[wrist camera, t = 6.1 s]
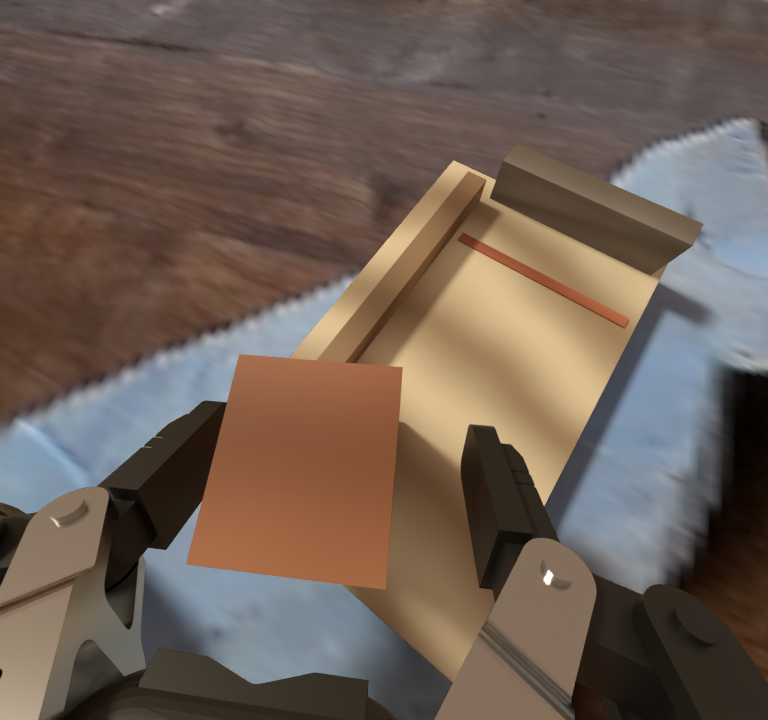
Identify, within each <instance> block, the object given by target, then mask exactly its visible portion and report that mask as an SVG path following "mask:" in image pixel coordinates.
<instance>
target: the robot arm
mask: <svg viewBox="0 0 768 720" xmlns="http://www.w3.org/2000/svg"><path fill="white" fill-rule="evenodd" d="M226 405H227V402H216V401H203V402H201V403H200V404H199V405H198V406H197V407H196V408H195V409H194V410H192V411H191V412H190V413H189V414H186V415H184V416H182V417H180V418H178V419H176V420H175V421H173V422H171V423H169V424H168V425H167V426H166V427H164V428H163V429H162V430H161V431H160V432H159V433H158V434H156V437H155V438H152V439H151V440H150V441H148V442H147V443H146V444H145V446H144V448H140V449H139V450H138V451H137V452H136V453H135V454H134V455H132V456H131V457H130V458H129V459H128V460H127V461H126V462H124V463H123V464H122V465H121V466H120V467H119V468H118V469H116V470H115V471H114V472H113V473H112V474H111V475H109V476H108V477H107V478H106V479H105V480H104V481H103V482H101V483H100V484H99V485H98V486H97V487H86V488H82V489H78V490H75V491H72V492H69V493H67V494H65V495H63V496H61V497H59V498H57V499H55V500H54V501H52V502H50V503H49V504H47V505H46V506H45V507H43V508H42V509H41V510H40V511H39V512H36V513H30V514H24V515H18V516H12V517H6V518H1V516H0V720H397V719H396V718H395V717H394V716H393V715H392V714H391V713H390V712H389V711H388V710H387V709H385V708H384V707H383V706H382V705H381V704H379V703H378V702H376V701H374V700H373V699H371V698H369V697H368V680H361V679H355V678H348V677H342V676H335V675H328V674H322V673H310V674H305V675H301V676H296V677H291V678H286V679H281V680H277V681H272V682H267V683H262V684H252V683H250V682H248V681H246V680H245V679H243V678H242V677H240V676H238V675H237V674H235V673H234V672H232V671H231V670H229V669H227V668H226V667H224V666H223V665H221V664H219V663H218V662H216V661H215V660H213V659H212V658H210V657H208V656H202V655H196V654H189V653H182V652H176V651H169V650H162V649H158V651H157V652H156V654H155V656H154V657H153V659H152V661H151V663H150V664H149V666H148V668H146V664H145V657H144V652H143V649H142V644H141V619H142V605H143V591H144V578H145V559H144V557H143V553H144V552H145V551H146V549H147V548H155V549H163V550H166V549H167V548H168V546H169V545H170V544H171V542H172V541H173V540H174V538H175V537H176V536H177V534H178V533H179V531H180V530H181V529H182V527H183V526H184V525H185V523H186V522H187V520H188V519H189V518H190V516H191V515H192V514H193V512H194V511H195V510H196V508H197V507H198V505H199V504H200V503H201V501H202V500H203V496H204V492H205V488H206V484H207V480H208V476H209V472H210V468H211V464H212V460H213V457H214V453H215V449H216V445H217V441H218V437H219V433H220V429H221V425H222V421H223V417H224V413H225V409H226ZM460 470H461V482H462V488H463V494H464V500H465V506H466V512H467V518H468V524H469V530H470V536H471V542H472V548H473V554H474V560H475V566H476V572H477V578H478V584H479V588H482V589H490V590H492V591H493V596H494V601H495V605H494V607H493V609H492V611H491V613H490V615H489V617H488V619H487V621H486V623H485V624H484V626H482V628H481V630H480V631H479V633H478V635H477V637H476V639H475V641H474V643H473V645H472V647H471V649H470V651H469V653H468V655H467V657H466V658H465V660H464V662H463V664H462V666H461V668H460V670H459V672H458V674H457V676H456V678H455V680H454V682H453V684H452V686H451V688H450V690H449V692H448V694H447V696H446V698H445V700H444V702H443V704H442V706H441V708H440V710H439V712H438V713H437V715H436V717H435V719H434V720H574V709H573V708H572V707H571V699H572V693H573V689H574V685H575V682H577V683H579V684H581V685H583V686H585V687H586V688H588V689H590V690H592V691H594V692H595V693H597V694H599V695H601V697H602V700H603V703H604V706H605V709H606V712H607V715H608V718H609V720H768V682H767V681H766V680H765V678H764V677H763V675H762V674H761V672H760V671H759V670H758V668H757V667H756V665H755V664H754V662H753V661H752V660H751V658H750V657H749V655H748V654H747V652H746V651H745V650H744V648H743V647H742V645H741V644H740V642H739V641H738V640H737V638H736V637H735V635H734V634H733V633H732V631H731V630H730V629H729V627H728V626H727V625H726V624H725V623H724V622H723V621H722V620H721V619H720V618H719V617H718V616H717V615H716V614H715V613H714V612H713V611H712V610H711V609H710V608H708V607H707V606H706V605H705V604H703V603H702V602H701V601H699V600H698V599H696V598H695V597H693V596H692V595H690V594H688V593H686V592H684V591H682V590H680V589H678V588H675V587H672V586H668V585H662V584H658V585H653V586H650V587H649V588H648V589H647V590H646V591H645V592H644V594H643V595H641V594H639V593H637V592H634V591H632V590H630V589H627V588H625V587H623V586H620V585H618V584H615V583H613V582H611V581H608V580H606V579H604V578H601V577H599V576H597V575H595V574H593V573H592V572H590V570H589V568H588V567H587V565H586V564H585V563H584V562H583V560H582V559H581V558H580V557H579V556H578V555H577V554H576V553H575V552H573V551H572V550H571V549H569V548H568V547H567V546H565V545H563V544H561V543H560V541H559V539H558V537H557V535H556V533H555V530H554V528H553V526H552V523H551V521H550V519H549V516H548V514H547V512H546V509H545V507H544V505H543V503H542V500H541V498H540V496H539V493H538V491H537V489H536V487H535V486H534V485H535V484H534V482H533V479H532V477H531V475H529V470H528V468H527V465H526V463H525V461H524V458H523V457H522V456H521V454H520V453H519V452H518V451H517V450H516V449H515V448H514V447H513V446H512V445H511V444H503V443H500V440H499V437H498V434H497V432H496V429H495V427H494V426H486V425H475V424H470V425H469V426H468V430H467V434H466V439H465V444H464V448H463V453H462V458H461V469H460Z"/></svg>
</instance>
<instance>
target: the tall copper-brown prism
mask: <svg viewBox="0 0 768 720" xmlns="http://www.w3.org/2000/svg"><path fill="white" fill-rule="evenodd" d="M402 372H403V367H395V366H382V365H369V364H356V363H344V362H331V361H318V360H305V359H292V358H280V357H267V356H254V355H241V354H239V358H238V362H237V366H236V370H235V374H234V378H233V382H232V385H231V389H230V393H229V397H228V401H227V405H226V409H225V413H224V417H223V421H222V425H221V429H220V433H219V437H218V441H217V445H216V449H215V453H214V457H213V460H212V464H211V468H210V472H209V476H208V480H207V484H206V488H205V492H204V496H203V500H202V504H201V508H200V512H199V516H198V520H197V524H196V528H195V532H194V535H193V539H192V543H191V547H190V551H189V555H188V559H187V563H186V564H188V565H196V566H204V567H211V568H219V569H227V570H235V571H243V572H250V573H258V574H266V575H274V576H282V577H290V578H297V579H305V580H313V581H321V582H329V583H337V584H344V585H352V586H360V587H368V588H376V589H384V590H386V579H387V567H388V554H389V542H390V530H391V518H392V506H393V493H394V480H395V467H396V454H397V441H398V428H399V415H400V400H401V386H402Z"/></svg>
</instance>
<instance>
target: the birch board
mask: <svg viewBox="0 0 768 720" xmlns="http://www.w3.org/2000/svg"><path fill="white" fill-rule="evenodd" d="M702 226H703V224H702V223H700V222H698V221H695V220H693V219H691V218H688V217H686V216H684V215H681V214H679V213H677V212H674V211H672V210H670V209H667V208H665V207H663V206H660V205H658V204H656V203H653V202H651V201H649V200H647V199H644V198H642V197H640V196H637V195H635V194H633V193H630V192H628V191H626V190H623V189H621V188H619V187H616V186H614V185H612V184H609V183H607V182H605V181H602V180H600V179H598V178H595V177H593V176H591V175H588V174H586V173H584V172H581V171H579V170H577V169H574V168H572V167H570V166H567V165H565V164H563V163H560V162H558V161H556V160H553V159H551V158H549V157H546V156H544V155H542V154H540V153H537V152H535V151H533V150H530V149H528V148H526V147H523V146H521V145H519V144H515V146H514V147H513V148H512V150H511V151H510V152H509V154H508V155H507V156H506V157H505V159H504V160H503V162H502V165H501V168H500V170H499V173H498V176H497V179H496V180H494V179H492V178H490V177H488V176H486V175H484V174H481V173H479V172H477V171H475V170H473V169H471V168H469V167H466V166H464V165H462V164H460V163H458V162H456V161H453V162H452V163H451V164H450V165H449V167H448V168H447V169H446V170H445V171H444V173H443V174H442V175H441V176H440V177H439V179H438V180H437V181H436V182H435V183H434V185H433V186H432V187H431V188H430V189H429V191H428V192H427V193H426V194H425V195H424V197H423V198H422V199H421V200H420V201H419V203H418V204H417V205H416V206H415V207H414V209H413V210H412V211H411V212H410V213H409V215H408V216H407V217H406V218H405V219H404V221H403V222H402V223H401V224H400V225H399V227H398V228H397V229H396V230H395V232H394V233H393V234H392V235H391V236H390V238H389V239H388V240H387V241H386V242H385V244H384V245H383V246H382V247H381V248H380V250H379V251H378V252H377V253H376V254H375V256H374V257H373V258H372V259H371V260H370V262H369V263H368V264H367V265H366V266H365V268H364V269H363V270H362V271H361V272H360V274H359V275H358V276H357V277H356V278H355V280H354V281H353V282H352V283H351V284H350V286H349V287H348V288H347V289H346V290H345V292H344V293H343V294H342V295H341V296H340V298H339V299H338V300H337V301H336V302H335V304H334V305H333V306H332V307H331V308H330V310H329V311H328V312H327V313H326V314H325V316H324V317H323V318H322V319H321V320H320V322H319V323H318V324H317V325H316V326H315V328H314V329H313V330H312V331H311V332H310V334H309V335H308V336H307V337H306V339H305V340H304V341H303V342H302V343H301V345H300V346H299V347H298V348H297V349H296V351H295V352H294V353H293V354H292V355H291V357H290V358H292V359H305V360H318V361H331V362H344V363H356V364H369V365H382V366H395V367H403V372H402V386H401V400H400V415H399V428H398V441H397V454H396V467H395V480H394V493H393V506H392V518H391V530H390V542H389V554H388V567H387V579H386V590H384V589H376V588H368V587H360V586H352V585H344V584H342V585H343V586H344V587H345V588H347V589H348V590H349V591H350V592H351V593H352V594H353V595H354V596H356V597H357V598H358V599H359V600H360V601H361V602H362V603H363V604H365V605H366V606H367V607H368V608H369V609H370V610H371V611H372V612H374V613H375V614H376V615H377V616H378V617H379V618H380V619H382V620H383V621H384V622H385V623H386V624H387V625H388V626H389V627H391V628H392V629H393V630H394V631H395V632H396V633H397V634H398V635H400V636H401V637H402V638H403V639H404V640H405V641H406V642H407V643H409V644H410V645H411V646H412V647H413V648H414V649H415V650H416V651H418V652H419V653H420V654H421V655H422V656H423V657H424V658H426V659H427V660H428V661H429V662H430V663H431V664H432V665H433V666H435V667H436V668H437V669H438V670H439V671H440V672H441V673H442V674H444V675H445V676H446V677H447V678H448V679H449V680H450V681H451V682H454V680H455V678H456V676H457V674H458V672H459V670H460V668H461V666H462V664H463V662H464V660H465V658H466V657H467V655H468V653H469V651H470V649H471V647H472V645H473V643H474V641H475V639H476V637H477V635H478V633H479V631H480V630H481V628H482V626H484V624H485V622H486V620H487V618H488V616H489V614H490V612H491V610H492V608H493V606H494V604H495V601H494V596H493V591H492V590H490V589H482V588H479V584H478V578H477V572H476V566H475V560H474V554H473V548H472V542H471V536H470V530H469V524H468V518H467V512H466V506H465V500H464V494H463V488H462V482H461V470H460V469H461V458H462V453H463V448H464V444H465V439H466V434H467V430H468V426H469V425H470V424H475V425H486V426H494V427H495V429H496V432H497V434H498V437H499V440H500V443H503V444H511V445H512V446H513V447H514V448H515V449H516V450H517V451H518V452H519V453H520V454H521V456H522V457H523V458H524V461H525V463H526V465H527V468H528V470H529V475H531V477H532V479H533V482H534V484H535V485H534V486H535V487H536V489H537V491H538V493H539V496H540V498H541V500H542V503H543V505H544V506H545V504H546V502H547V500H548V498H549V496H550V494H551V492H552V490H553V488H554V486H555V484H556V482H557V480H558V478H559V476H560V474H561V472H562V470H563V469H564V467H565V465H566V463H567V461H568V459H569V457H570V455H571V453H572V451H573V449H574V447H575V445H576V443H577V441H578V439H579V437H580V435H581V433H582V431H583V429H584V427H585V425H586V423H587V421H588V419H589V417H590V416H591V414H592V412H593V410H594V408H595V406H596V404H597V402H598V400H599V398H600V396H601V394H602V392H603V390H604V388H605V386H606V384H607V382H608V380H609V378H610V376H611V374H612V372H613V370H614V368H615V366H616V364H617V362H618V361H619V359H620V357H621V355H622V353H623V351H624V349H625V347H626V345H627V343H628V341H629V339H630V337H631V335H632V333H633V331H634V329H635V327H636V325H637V323H638V321H639V319H640V317H641V315H642V313H643V311H644V309H645V308H646V306H647V304H648V302H649V300H650V298H651V296H652V294H653V292H654V290H655V288H656V286H657V284H658V282H659V280H660V278H661V276H662V274H663V272H664V270H665V268H666V266H667V264H668V263H669V262H670V261H672V260H673V259H675V258H676V257H677V256H679V255H680V254H682V253H683V252H684V251H686V250H687V249H689V248H690V247H691V246H693V244H694V242H695V240H696V238H697V236H698V234H699V232H700V230H701V228H702Z"/></svg>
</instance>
